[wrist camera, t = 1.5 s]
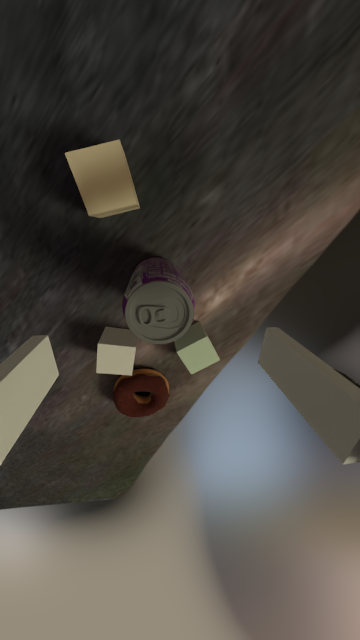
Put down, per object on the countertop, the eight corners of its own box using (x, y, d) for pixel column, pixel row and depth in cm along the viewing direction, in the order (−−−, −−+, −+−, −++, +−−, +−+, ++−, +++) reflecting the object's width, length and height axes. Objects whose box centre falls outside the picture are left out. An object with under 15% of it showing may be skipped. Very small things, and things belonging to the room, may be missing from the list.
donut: (178, 376, 36) (181, 391, 33) (153, 409, 39) (154, 427, 36) (129, 356, 33) (126, 372, 29) (106, 395, 36) (101, 413, 32)
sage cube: (172, 334, 32) (176, 352, 28) (199, 321, 32) (207, 336, 27) (186, 355, 34) (191, 374, 30) (210, 342, 34) (220, 359, 29)
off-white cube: (105, 326, 30) (97, 343, 25) (138, 330, 31) (135, 347, 26) (104, 352, 32) (96, 372, 27) (134, 355, 33) (132, 375, 28)
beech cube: (82, 168, 21) (64, 152, 17) (126, 158, 21) (119, 139, 17) (100, 218, 24) (88, 215, 19) (140, 208, 24) (137, 203, 19)
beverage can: (135, 306, 29) (126, 352, 18) (128, 257, 26) (112, 278, 15) (181, 302, 30) (198, 344, 19) (180, 255, 27) (199, 273, 16)
